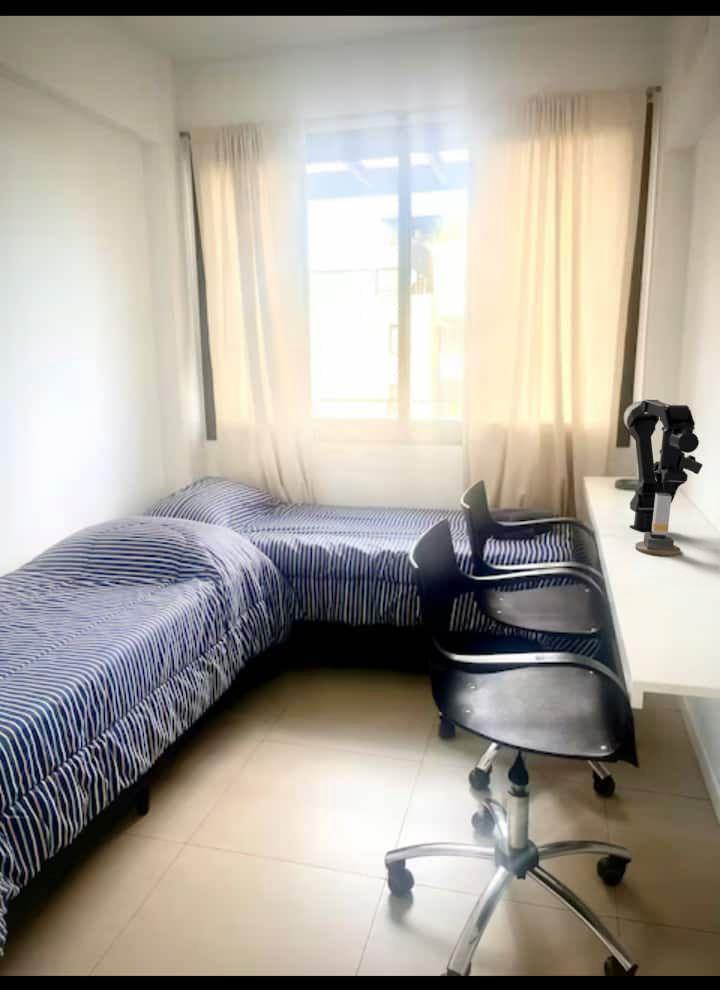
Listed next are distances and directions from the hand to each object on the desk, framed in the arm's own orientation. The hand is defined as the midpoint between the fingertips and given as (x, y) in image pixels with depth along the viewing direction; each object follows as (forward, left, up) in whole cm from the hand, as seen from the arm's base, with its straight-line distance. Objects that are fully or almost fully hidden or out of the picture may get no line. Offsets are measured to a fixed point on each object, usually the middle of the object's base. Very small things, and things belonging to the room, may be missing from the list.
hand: (666, 499), depth 206 cm
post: (+8, -7, -8) cm, 13 cm away
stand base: (+8, -7, -13) cm, 17 cm away
